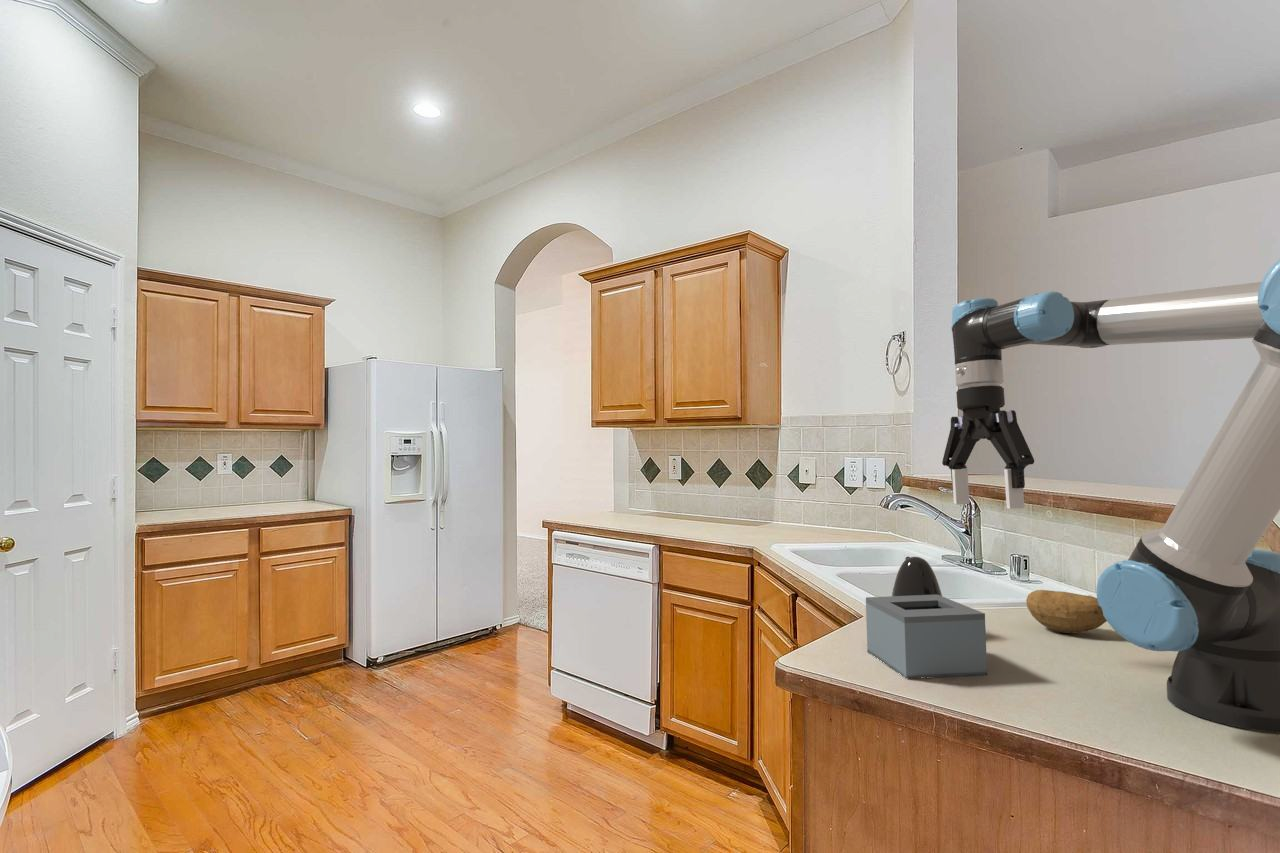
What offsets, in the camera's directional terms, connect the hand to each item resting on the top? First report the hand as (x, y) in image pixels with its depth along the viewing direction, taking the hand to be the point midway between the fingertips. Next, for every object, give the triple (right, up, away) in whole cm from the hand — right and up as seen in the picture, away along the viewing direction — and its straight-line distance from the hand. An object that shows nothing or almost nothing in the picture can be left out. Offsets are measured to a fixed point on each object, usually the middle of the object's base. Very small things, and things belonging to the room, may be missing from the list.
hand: (987, 506), depth 111 cm
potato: (+25, -28, +16) cm, 40 cm away
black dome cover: (-4, -28, +18) cm, 33 cm away
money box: (-12, -27, -1) cm, 30 cm away
